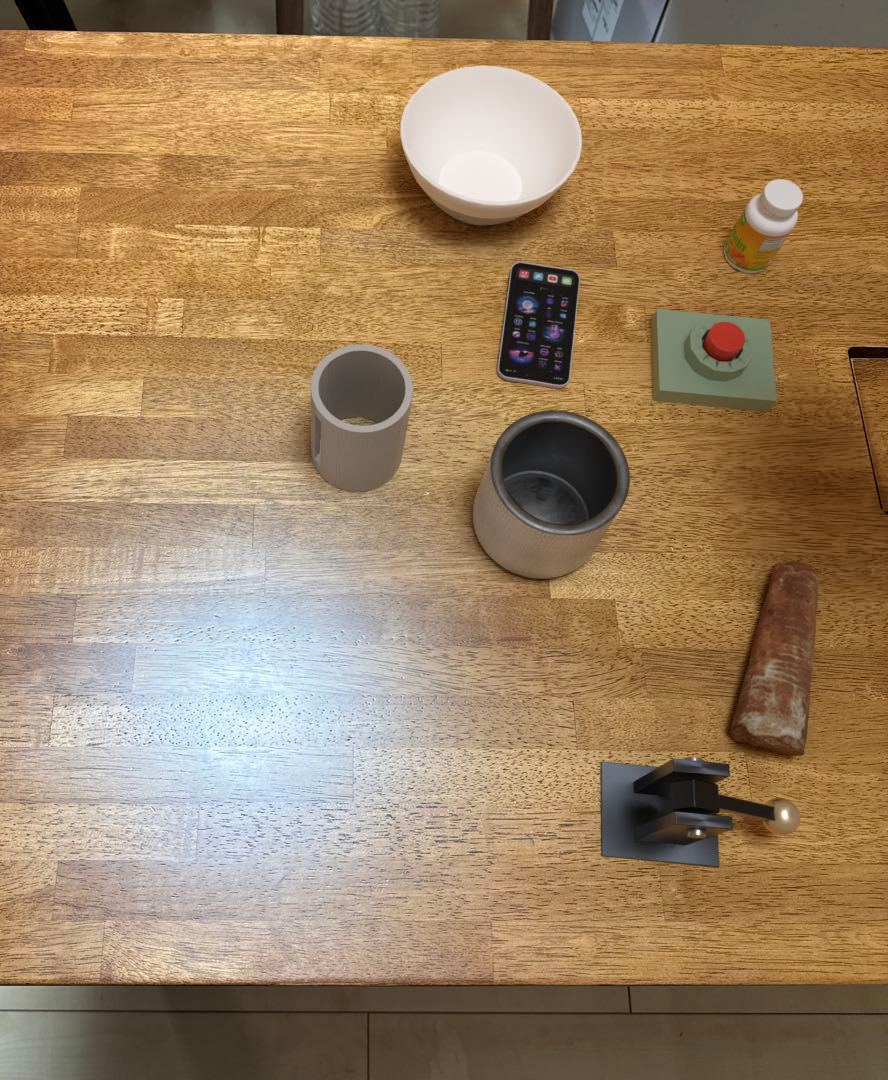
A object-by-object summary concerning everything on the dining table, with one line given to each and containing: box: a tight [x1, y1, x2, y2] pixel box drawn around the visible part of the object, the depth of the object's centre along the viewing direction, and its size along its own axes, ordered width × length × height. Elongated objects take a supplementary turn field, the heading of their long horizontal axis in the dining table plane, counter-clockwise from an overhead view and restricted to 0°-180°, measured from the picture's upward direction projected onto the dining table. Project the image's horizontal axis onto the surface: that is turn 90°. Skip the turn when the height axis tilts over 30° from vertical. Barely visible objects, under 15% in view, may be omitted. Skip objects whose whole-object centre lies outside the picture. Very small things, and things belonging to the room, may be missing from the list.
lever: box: [670, 779, 802, 836], centre depth 82 cm, size 13×3×3 cm, turn 85°
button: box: [704, 322, 745, 361], centre depth 103 cm, size 4×4×2 cm
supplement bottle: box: [723, 178, 804, 274], centre depth 109 cm, size 5×5×10 cm
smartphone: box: [496, 261, 581, 389], centre depth 108 cm, size 8×1×15 cm
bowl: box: [399, 65, 583, 227], centre depth 112 cm, size 19×19×8 cm
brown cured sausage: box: [729, 560, 819, 757], centre depth 92 cm, size 6×19×6 cm, turn 158°
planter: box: [472, 409, 631, 580], centre depth 94 cm, size 12×12×11 cm
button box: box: [649, 308, 778, 413], centre depth 105 cm, size 12×10×4 cm
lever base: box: [599, 756, 734, 868], centre depth 83 cm, size 10×8×12 cm
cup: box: [310, 344, 414, 493], centre depth 96 cm, size 9×9×12 cm
